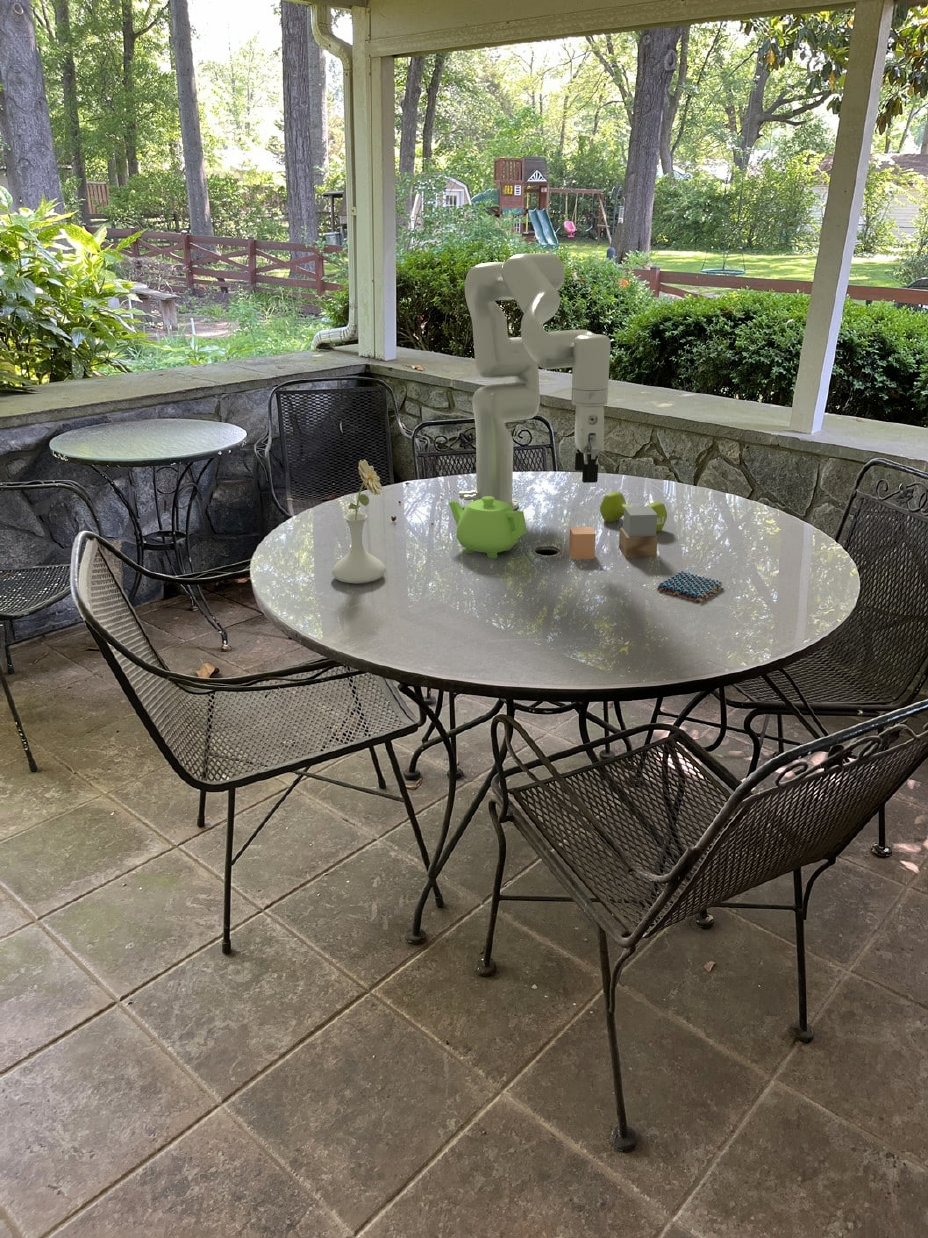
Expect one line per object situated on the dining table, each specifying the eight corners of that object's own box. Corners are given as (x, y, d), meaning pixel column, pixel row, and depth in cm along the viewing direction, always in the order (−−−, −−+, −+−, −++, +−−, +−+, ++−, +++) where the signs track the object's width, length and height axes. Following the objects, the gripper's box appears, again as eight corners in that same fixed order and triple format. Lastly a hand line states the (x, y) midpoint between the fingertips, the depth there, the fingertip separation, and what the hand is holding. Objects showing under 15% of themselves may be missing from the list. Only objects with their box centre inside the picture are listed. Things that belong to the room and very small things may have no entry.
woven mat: (725, 590, 179) (726, 580, 178) (700, 606, 172) (701, 596, 171) (679, 577, 185) (680, 569, 184) (654, 592, 178) (654, 583, 177)
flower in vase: (364, 592, 178) (356, 473, 168) (321, 581, 184) (311, 465, 173) (401, 572, 188) (396, 458, 178) (359, 562, 194) (352, 452, 183)
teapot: (435, 550, 201) (434, 497, 195) (467, 534, 211) (467, 483, 205) (509, 567, 190) (510, 512, 185) (539, 549, 200) (541, 496, 195)
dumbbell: (669, 530, 212) (671, 501, 209) (649, 537, 207) (651, 508, 204) (616, 515, 223) (617, 488, 220) (595, 522, 218) (597, 494, 215)
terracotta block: (572, 559, 194) (573, 534, 192) (568, 551, 199) (569, 527, 196) (594, 559, 195) (595, 533, 192) (590, 551, 199) (591, 526, 197)
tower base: (625, 558, 195) (626, 537, 193) (618, 548, 201) (620, 527, 199) (656, 557, 195) (657, 536, 193) (648, 547, 201) (650, 526, 199)
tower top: (628, 536, 193) (630, 515, 191) (622, 528, 199) (624, 507, 196) (655, 536, 193) (657, 514, 191) (648, 527, 199) (650, 506, 197)
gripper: (615, 403, 174) (610, 486, 181) (599, 388, 190) (595, 465, 197) (578, 404, 174) (574, 487, 181) (565, 389, 190) (562, 466, 197)
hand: (585, 476), depth 189 cm, fingers open, 9 cm apart
